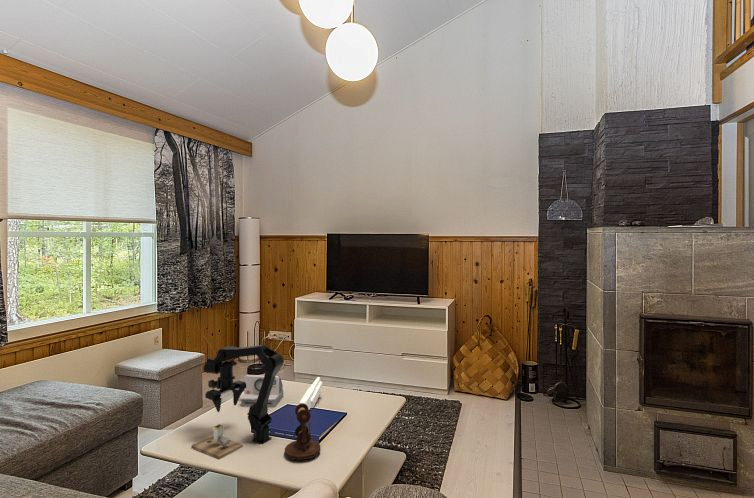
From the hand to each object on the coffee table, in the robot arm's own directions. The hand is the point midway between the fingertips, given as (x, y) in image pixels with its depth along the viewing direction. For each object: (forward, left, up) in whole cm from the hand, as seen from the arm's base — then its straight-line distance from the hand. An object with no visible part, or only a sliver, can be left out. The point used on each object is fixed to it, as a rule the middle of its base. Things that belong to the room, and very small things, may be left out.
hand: (226, 408), depth 195 cm
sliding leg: (-8, +11, -10) cm, 17 cm away
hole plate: (-7, +11, -12) cm, 17 cm away
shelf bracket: (-12, -47, -12) cm, 50 cm away
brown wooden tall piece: (-42, -4, -12) cm, 44 cm away
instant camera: (+16, -38, -12) cm, 43 cm away
